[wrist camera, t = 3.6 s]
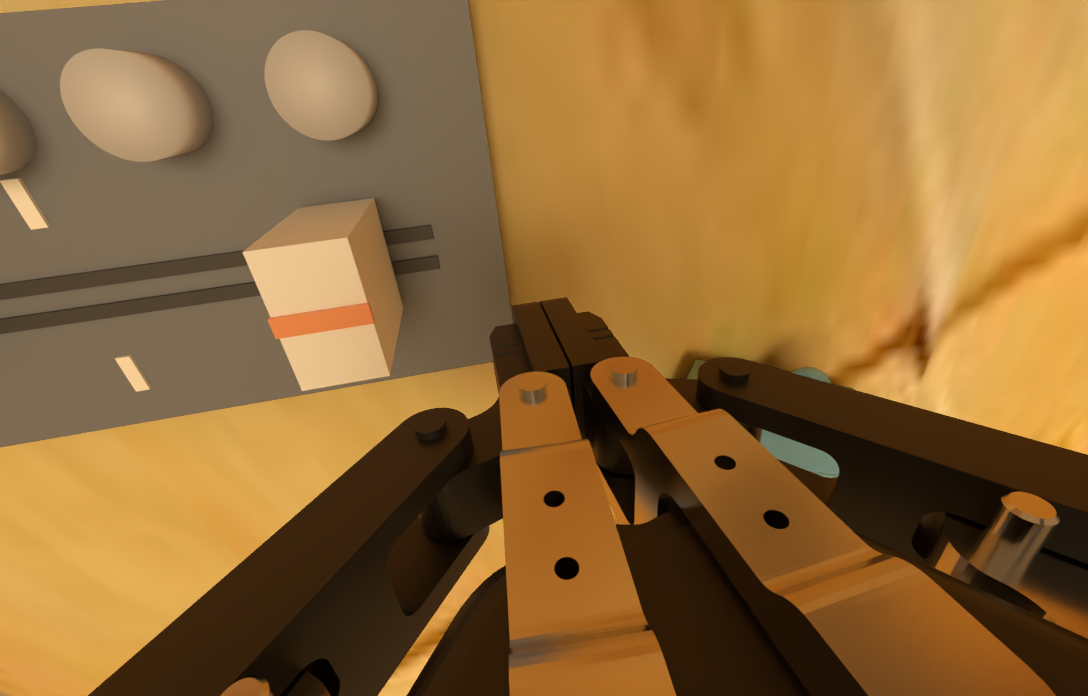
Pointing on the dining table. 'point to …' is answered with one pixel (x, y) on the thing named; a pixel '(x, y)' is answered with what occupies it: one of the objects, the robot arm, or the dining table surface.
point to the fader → (330, 292)
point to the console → (226, 195)
